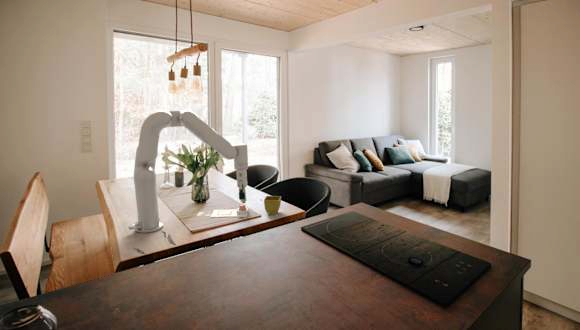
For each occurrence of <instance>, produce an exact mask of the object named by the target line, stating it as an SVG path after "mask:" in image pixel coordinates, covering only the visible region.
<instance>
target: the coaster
mask: <svg viewBox="0 0 580 330" xmlns="http://www.w3.org/2000/svg"><path fill="white" fill-rule="evenodd" d="M211 215H212V211H200V212H198V213H197V214H196V217H210V216H211Z"/></svg>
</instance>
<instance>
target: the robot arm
mask: <svg viewBox="0 0 580 330" xmlns="http://www.w3.org/2000/svg"><path fill="white" fill-rule="evenodd" d="M179 127H182V128H183V127H184V128H185V129H187V131H189V132H190V133H191V134H193V135H194V136H195V137H196V138H198V139H199V140H200V141H201V142H203V143H204V144H206V145H207V146H209V147H210V148H212V149H213V150H215V151H216V152H217V153H218V154H219V156H220V157H222V158H224V159H226V160H228V161H229V160H233V165H234V166H233V168H234V170H235V171H236V184H237V185H236V186H237V188H238V200H240V199H245V192H244V187H245V188H247V186H248V174H247V170H248V169H249V159H248V157H249V156H248V145H247V144H246V143H236V144H235V143H234V144H233V143H231V142H229V141H228V140H227V139H226V138H224V136H222V135H221V134H220V133H219V132H217V131H216V130H215V129H214V128H213V127H211V126H210V125H209V124H207V123H206V121H204V120H203V119H202V118H201V117H200V116H199V115H197V113H195V112H194V111H192V110H189V109H183V110H181V109H180V110H168V109H167V110H164V109H163V110H158V111H156V112H153V113H151V114H150V115H148V116H147V117H146V118H145V120H143V123H142V125H141V128H140V132H139V138H138V145H137V147H136V151H135V158H134V159H135V160H134V169H133V170H134V171H133V183H134V192H135V201H136V213H137V220H136V221H135V223H134V224H131V225H129V226H128V230H135V231H136V232H137V233H142V234H145V233H146V234H149V233H154V232H157V231H159V230H161V229H162V228H163V227H164V224H163V223H162V221H161V222H160V215H159V203H158V202H159V201H158V191H157V176H156V172H155V170H156V160H157V159H158V153H159V152H158V148H159V139H160V134H161V132H162V130H164V129H166V128H179ZM242 186H243V187H242ZM242 188H243V189H242Z"/></svg>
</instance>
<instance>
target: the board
mask: <svg viewBox="0 0 580 330" xmlns="http://www.w3.org/2000/svg"><path fill="white" fill-rule="evenodd" d="M245 209H246V210H239V207H237V208H236V209H234V208H233V209H213V212H211V214H210V216H209V218H238V217H243V218H248V216H247V215H249V207H247V206H246V207H245Z"/></svg>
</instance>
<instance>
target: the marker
mask: <svg viewBox="0 0 580 330" xmlns="http://www.w3.org/2000/svg"><path fill="white" fill-rule="evenodd" d="M242 187H243V186H242ZM242 189H243V188H242ZM244 192H245V199H239V200H240V202H241V204H246V201H247V194H246V193H247V192H246V187H244Z"/></svg>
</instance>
